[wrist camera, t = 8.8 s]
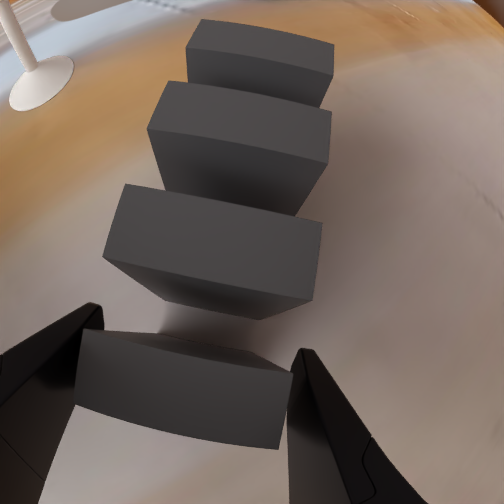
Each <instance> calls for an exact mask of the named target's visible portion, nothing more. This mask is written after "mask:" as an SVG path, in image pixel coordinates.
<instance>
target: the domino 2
mask: <svg viewBox="0 0 504 504" xmlns="http://www.w3.org/2000/svg"><path fill="white" fill-rule="evenodd" d="M331 115H332V112H331V111H327V110H324V109H320V108H316V107H313V106H309V105H305V104H301V103H297V102H293V101H288V100H284V99H280V98H275V97H271V96H266V95H261V94H256V93H251V92H246V91H240V90H234V89H228V88H222V87H216V86H209V85H202V84H195V83H186V82H178V81H168V83H167V85H166V87H165V89H164V91H163V93H162V95H161V97H160V100H159V102H158V104H157V106H156V108H155V111H154V113H153V115H152V117H151V120H150V122H149V124H148V127H147V131H148V135H149V138H150V142H151V145H152V148H153V151H154V155H155V158H156V161H157V164H158V168H159V171H160V174H161V177H162V180H163V183H164V186H165V190H166V191H170V192H176V193H181V194H186V195H192V196H197V197H202V198H207V199H212V200H218V201H223V202H228V203H233V204H237V205H242V206H247V207H252V208H257V209H262V210H266V211H271V212H276V213H280V214H285V215H289V216H294V217H295V215H296V214H297V212H298V210H299V209H300V207H301V206H302V204H303V203H304V201H305V199H306V198H307V196H308V195H309V193H310V192H311V190H312V188H313V187H314V185H315V184H316V182H317V180H318V179H319V177H320V176H321V174H322V173H323V171H324V169H325V168H326V166H327V165H328V158H329V145H330V131H331Z"/></svg>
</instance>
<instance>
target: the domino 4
mask: <svg viewBox="0 0 504 504" xmlns="http://www.w3.org/2000/svg"><path fill="white" fill-rule="evenodd" d="M292 379H293V373H291V372H289V371H287V370H285V369H283V368H281V367H279V366H277V365H276V364H274V363H272V362H270V361H268V360H266V359H264V358H262V357H260V356H258V355H256V354H254V353H252V352H246V351H241V350H235V349H229V348H224V347H219V346H213V345H208V344H203V343H198V342H194V341H189V340H184V339H180V338H175V337H171V336H166V335H162V334H157V333H137V332H121V331H107V330H94V329H83V335H82V340H81V346H80V352H79V359H78V366H77V373H76V380H75V388H74V397H73V404H76V405H79V406H81V407H84V408H87V409H90V410H93V411H95V412H98V413H101V414H104V415H107V416H111V417H114V418H117V419H120V420H124V421H127V422H130V423H134V424H137V425H141V426H145V427H149V428H152V429H156V430H160V431H165V432H169V433H173V434H178V435H182V436H187V437H192V438H197V439H202V440H208V441H213V442H219V443H226V444H232V445H239V446H247V447H255V448H265V449H275V450H278V449H279V445H280V440H281V435H282V430H283V425H284V421H285V416H286V411H287V405H288V400H289V395H290V390H291V384H292Z"/></svg>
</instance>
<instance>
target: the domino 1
mask: <svg viewBox="0 0 504 504" xmlns="http://www.w3.org/2000/svg"><path fill="white" fill-rule="evenodd" d="M186 61H187V76H188V83H195V84H202V85H209V86H216V87H222V88H228V89H234V90H240V91H246V92H251V93H256V94H261V95H266V96H271V97H275V98H280V99H284V100H288V101H293V102H297V103H301V104H305V105H309V106H313V107H316V108H319V107H320V105H321V103H322V100H323V98H324V96H325V94H326V91H327V89H328V87H329V85H330V82H331V80H332V78H333V72H334V44H330V43H327V42H323V41H320V40H316V39H312V38H308V37H304V36H300V35H296V34H292V33H287V32H283V31H278V30H273V29H268V28H262V27H257V26H251V25H245V24H238V23H231V22H223V21H215V20H205V19H201V21H200V23H199V25H198V26H197V28H196V30H195V32H194V33H193V35H192V37H191V39H190V40H189V42H188V44H187V46H186Z"/></svg>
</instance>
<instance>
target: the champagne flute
mask: <svg viewBox="0 0 504 504" xmlns="http://www.w3.org/2000/svg"><path fill="white" fill-rule="evenodd" d="M0 22H1V24H2V26H3V28H4V30H5V32H6V34H7V36H8V38H9V40H10V42H11V44H12V45H13V47H14V49H15V51H16V53H17V55H18V57H19V58H20V60H21V62H22V64H23V66H24V67H25V69H26V71H25V72H24V73H23V74H22V76H21V77H20V78H19V79H18V81H17V82H16V83H15V85H14V87H13V88H12V91H11V93H10V97H9V102H10V106H11V107H12V108H13V109H15V110H17V111H27V110H30V109H33V108H36V107H38V106H40V105H42V104H44V103H45V102H47V101H48V100H50V99H51V98H52V97H54V96H55V95H56V94H57V93H58V92H59V91H60V90H61V89H62V88H63V87H64V86H65V85H66V83H67V82H68V81H69V79H70V77H71V75H72V73H73V68H74V65H73V62H72V60H71V59H70V58H68V57H66V56H54V57H50V58H47V59H44V60H42V61H39V62H37V60H36V58H35V56H34V54H33V52H32V50H31V48H30V46H29V44H28V42H27V40H26V38H25V36H24V34H23V32H22V30H21V27H20V25H19V23H18V21H17V19H16V17H15V14H14V12H13V10H12V8H11V5H10V3H9V1H8V0H0Z"/></svg>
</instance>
